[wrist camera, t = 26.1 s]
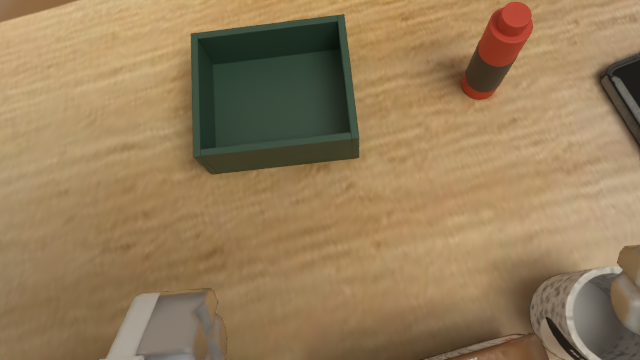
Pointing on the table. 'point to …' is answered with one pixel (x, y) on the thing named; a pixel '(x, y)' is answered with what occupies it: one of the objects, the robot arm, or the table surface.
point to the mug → (582, 317)
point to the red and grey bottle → (497, 50)
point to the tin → (499, 349)
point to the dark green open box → (273, 95)
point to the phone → (625, 90)
